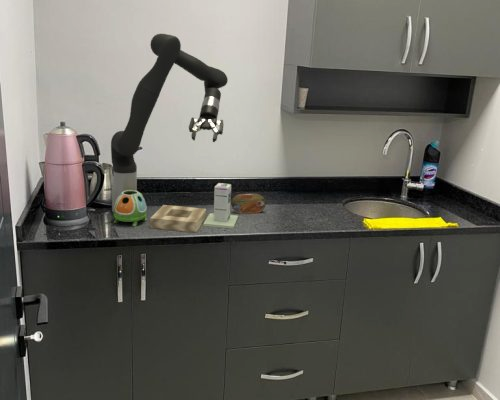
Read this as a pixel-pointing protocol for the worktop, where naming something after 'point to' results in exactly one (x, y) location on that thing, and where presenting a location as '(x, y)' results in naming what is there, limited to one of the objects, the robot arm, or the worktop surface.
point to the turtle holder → (130, 207)
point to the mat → (212, 223)
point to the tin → (248, 203)
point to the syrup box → (222, 202)
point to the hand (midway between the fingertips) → (203, 140)
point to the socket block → (178, 218)
